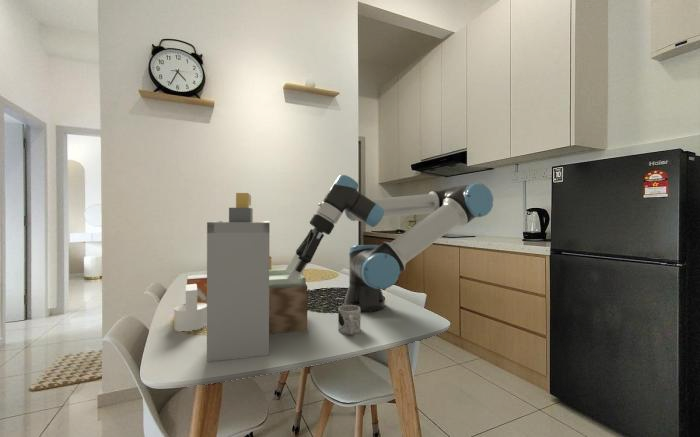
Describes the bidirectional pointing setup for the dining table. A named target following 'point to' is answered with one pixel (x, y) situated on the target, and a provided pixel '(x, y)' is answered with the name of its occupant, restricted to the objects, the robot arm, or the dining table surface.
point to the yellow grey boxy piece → (241, 209)
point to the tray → (284, 279)
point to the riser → (287, 309)
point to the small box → (199, 286)
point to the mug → (349, 319)
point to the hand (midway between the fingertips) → (289, 276)
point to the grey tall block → (237, 290)
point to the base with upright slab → (190, 312)
